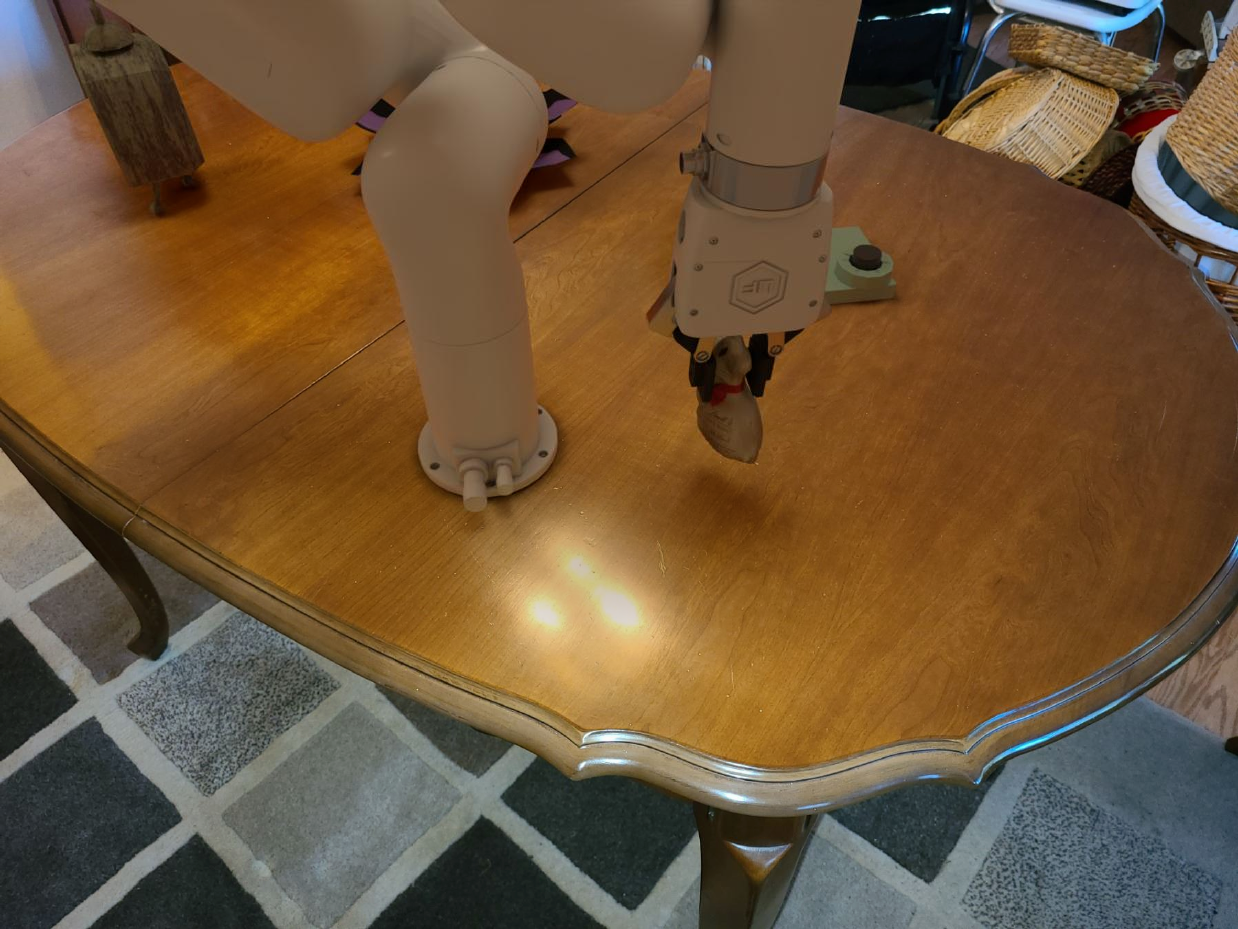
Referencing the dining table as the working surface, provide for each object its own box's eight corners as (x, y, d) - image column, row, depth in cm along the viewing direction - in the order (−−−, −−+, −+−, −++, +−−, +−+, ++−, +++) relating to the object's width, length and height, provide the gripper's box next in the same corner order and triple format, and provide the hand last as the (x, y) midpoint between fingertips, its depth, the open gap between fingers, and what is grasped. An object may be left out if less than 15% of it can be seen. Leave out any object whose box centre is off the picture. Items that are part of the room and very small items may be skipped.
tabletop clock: (129, 175, 111) (33, -36, 93) (200, 158, 114) (120, -48, 96) (147, 225, 103) (45, 5, 85) (223, 206, 106) (140, -11, 88)
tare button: (883, 270, 90) (886, 258, 89) (856, 273, 90) (859, 260, 89) (873, 255, 92) (876, 243, 91) (847, 257, 92) (849, 245, 91)
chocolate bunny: (757, 398, 71) (776, 301, 64) (762, 466, 66) (783, 368, 58) (692, 395, 71) (703, 297, 64) (692, 462, 66) (704, 363, 59)
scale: (894, 301, 92) (902, 274, 89) (770, 313, 90) (775, 286, 88) (855, 239, 100) (861, 213, 98) (741, 249, 99) (744, 223, 96)
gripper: (641, 205, 48) (630, 431, 62) (912, 189, 50) (845, 411, 64) (621, 144, 53) (615, 365, 67) (868, 131, 55) (814, 348, 69)
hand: (728, 386), depth 65 cm, fingers closed on chocolate bunny, 3 cm apart
